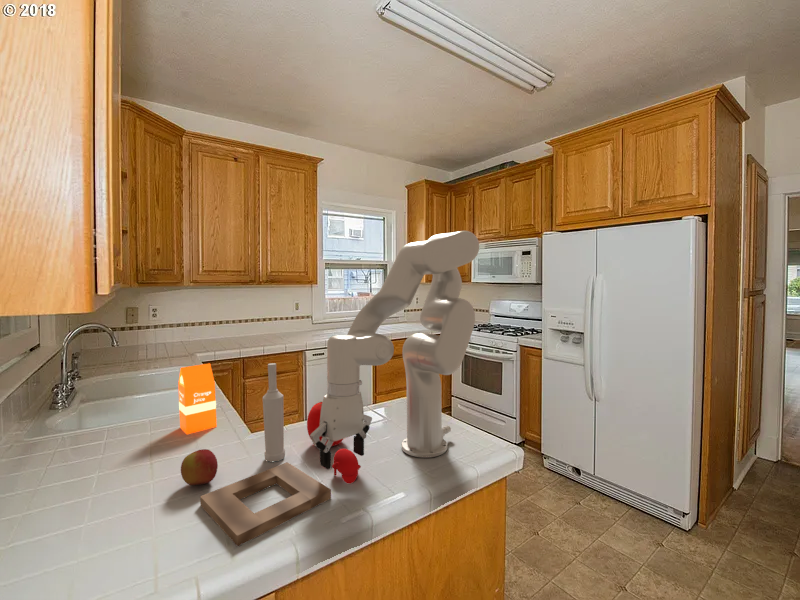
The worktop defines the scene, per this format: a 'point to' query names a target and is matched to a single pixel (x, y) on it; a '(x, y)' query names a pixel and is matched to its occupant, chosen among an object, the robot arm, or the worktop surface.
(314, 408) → the tomato
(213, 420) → the orange juice
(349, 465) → the red rounded piece
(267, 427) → the bottle
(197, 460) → the apple
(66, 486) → the worktop surface
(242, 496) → the walnut board
